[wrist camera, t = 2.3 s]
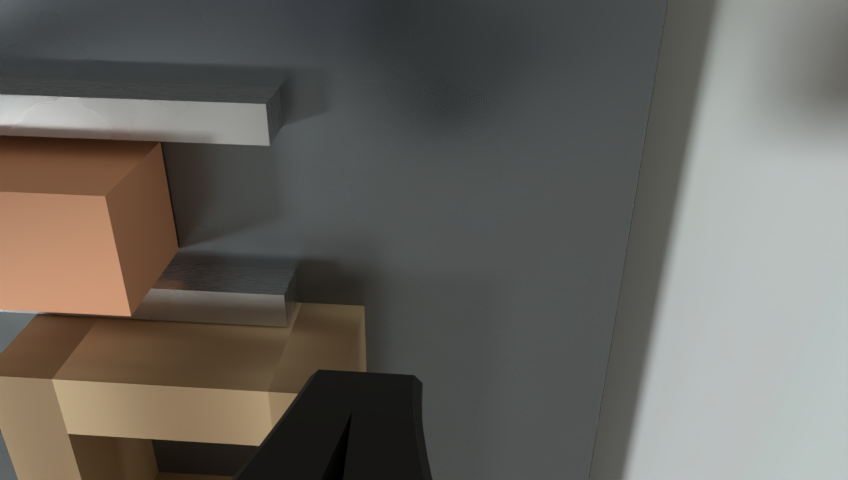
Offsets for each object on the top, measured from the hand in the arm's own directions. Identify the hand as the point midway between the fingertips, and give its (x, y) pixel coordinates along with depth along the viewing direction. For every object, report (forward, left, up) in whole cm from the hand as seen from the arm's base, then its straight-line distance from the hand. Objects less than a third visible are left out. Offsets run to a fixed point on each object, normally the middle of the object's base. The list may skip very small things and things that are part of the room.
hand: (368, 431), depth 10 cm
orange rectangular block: (-7, 0, -6) cm, 10 cm away
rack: (-5, -6, -7) cm, 10 cm away
